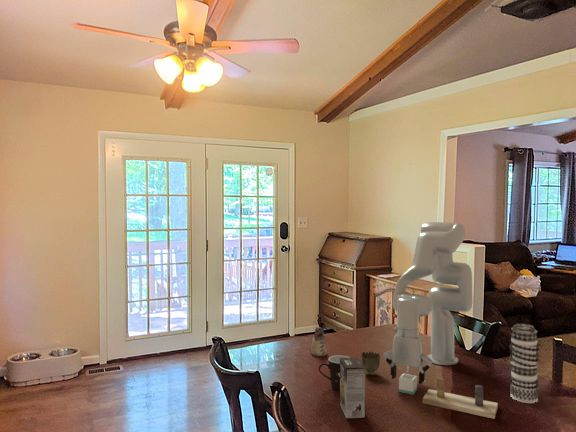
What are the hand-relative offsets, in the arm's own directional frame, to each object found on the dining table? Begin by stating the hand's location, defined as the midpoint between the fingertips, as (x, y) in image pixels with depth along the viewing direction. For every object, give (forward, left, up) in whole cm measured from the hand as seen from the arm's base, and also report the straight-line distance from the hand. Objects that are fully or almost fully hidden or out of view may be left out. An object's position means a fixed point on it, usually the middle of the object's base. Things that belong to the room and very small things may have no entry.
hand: (407, 380), depth 157 cm
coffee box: (+24, -11, -4) cm, 27 cm away
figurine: (-21, -46, -4) cm, 50 cm away
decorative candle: (-15, +36, -4) cm, 39 cm away
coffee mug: (+8, -24, -4) cm, 26 cm away
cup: (-9, -17, -4) cm, 19 cm away
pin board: (+2, +18, -4) cm, 19 cm away
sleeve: (-1, 0, -4) cm, 4 cm away
